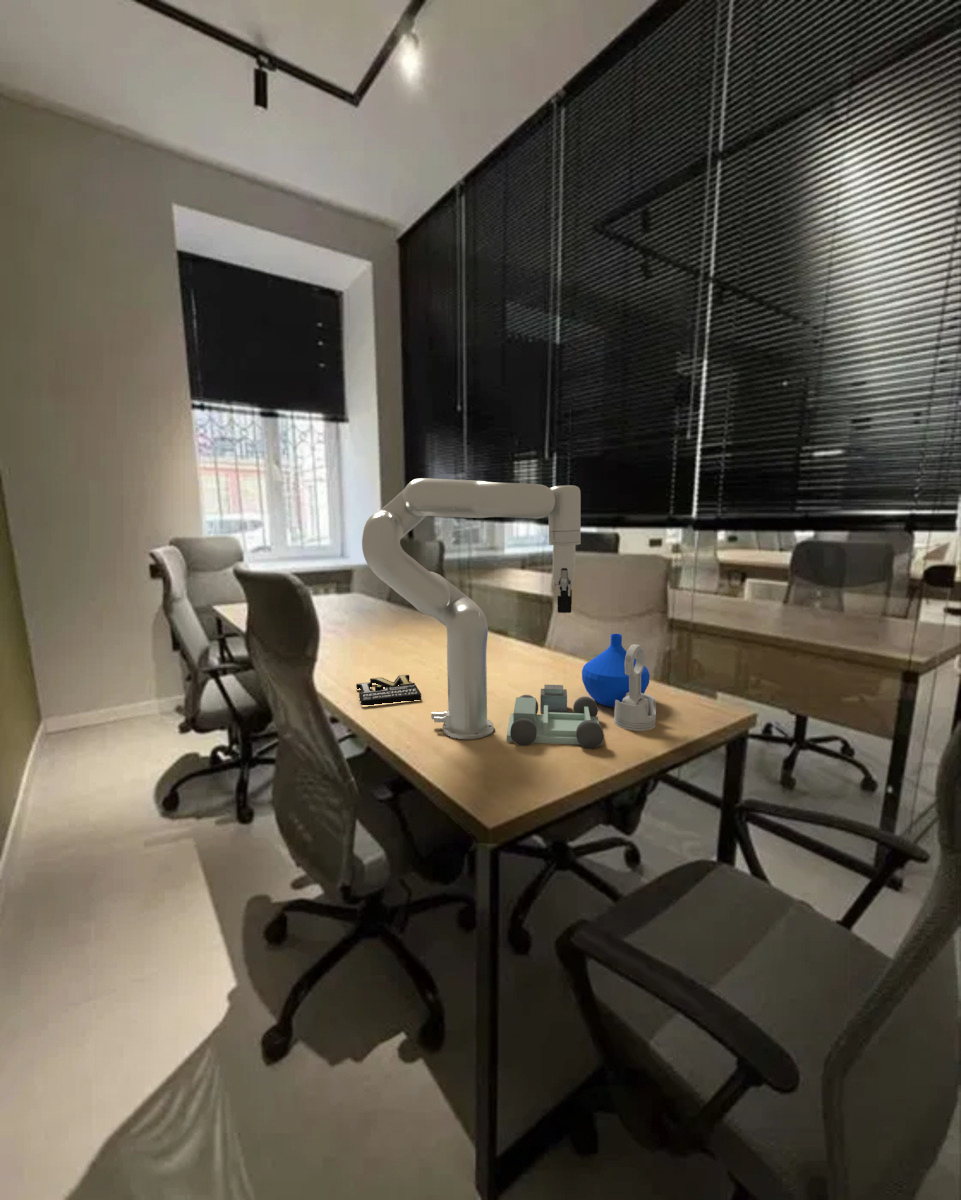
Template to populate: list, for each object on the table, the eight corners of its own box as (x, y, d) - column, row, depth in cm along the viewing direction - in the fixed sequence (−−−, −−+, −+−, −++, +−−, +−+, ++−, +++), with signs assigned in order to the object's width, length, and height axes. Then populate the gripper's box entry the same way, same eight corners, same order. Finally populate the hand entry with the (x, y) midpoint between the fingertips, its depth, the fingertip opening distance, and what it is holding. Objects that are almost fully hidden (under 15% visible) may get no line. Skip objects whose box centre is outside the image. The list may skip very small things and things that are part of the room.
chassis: (505, 745, 127) (505, 718, 126) (511, 716, 144) (511, 692, 143) (603, 749, 124) (604, 721, 123) (596, 719, 142) (597, 695, 141)
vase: (593, 687, 167) (594, 625, 164) (655, 696, 158) (657, 631, 155) (571, 706, 151) (572, 638, 148) (639, 717, 142) (641, 645, 139)
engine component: (661, 721, 140) (624, 712, 146) (665, 643, 136) (627, 637, 143) (644, 735, 131) (605, 725, 138) (647, 652, 128) (607, 645, 134)
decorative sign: (361, 700, 152) (354, 680, 170) (361, 709, 152) (355, 687, 171) (421, 694, 157) (409, 674, 176) (422, 702, 157) (409, 682, 176)
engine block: (540, 713, 147) (540, 689, 146) (540, 706, 152) (540, 683, 151) (566, 714, 146) (567, 690, 145) (566, 706, 151) (566, 684, 150)
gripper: (550, 536, 141) (551, 602, 143) (546, 541, 124) (547, 615, 127) (580, 535, 139) (580, 602, 142) (580, 540, 123) (580, 615, 125)
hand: (564, 608), depth 134 cm, fingers open, 9 cm apart
